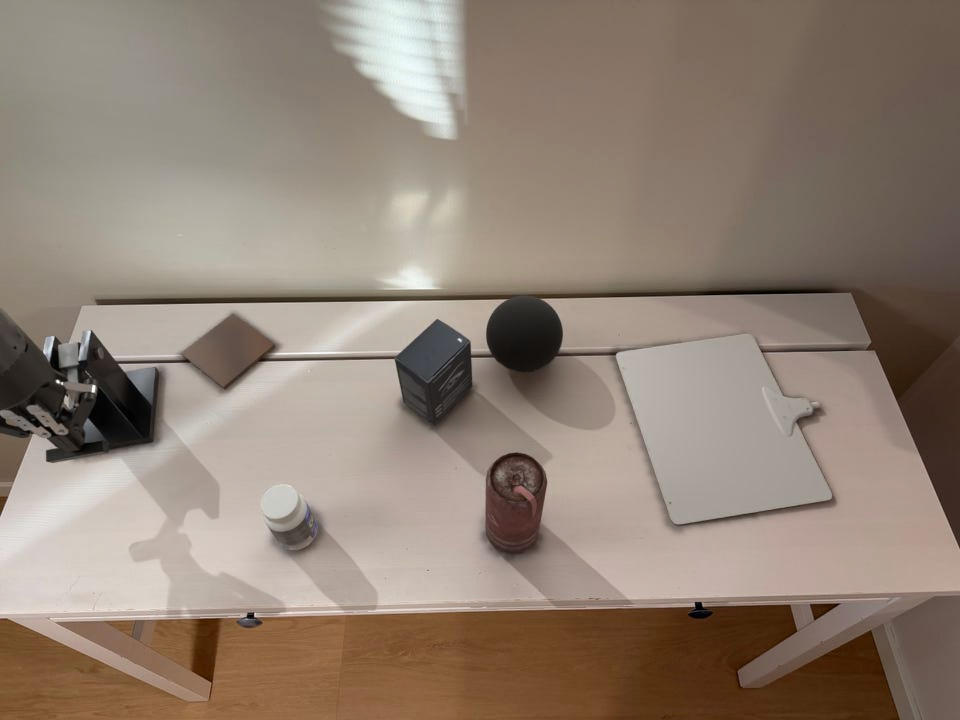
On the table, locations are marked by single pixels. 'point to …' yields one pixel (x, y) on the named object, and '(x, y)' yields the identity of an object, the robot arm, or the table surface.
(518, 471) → the can
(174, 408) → the table surface
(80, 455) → the lever
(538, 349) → the decorative ball
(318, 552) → the table surface
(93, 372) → the bracket
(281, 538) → the pill bottle
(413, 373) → the box
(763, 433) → the clipboard
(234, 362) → the coaster
